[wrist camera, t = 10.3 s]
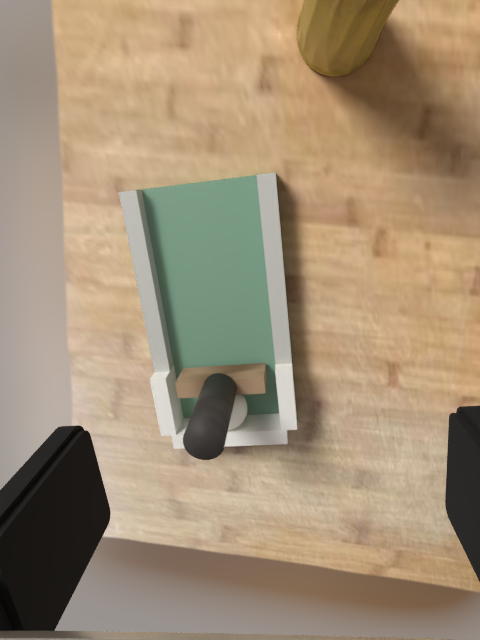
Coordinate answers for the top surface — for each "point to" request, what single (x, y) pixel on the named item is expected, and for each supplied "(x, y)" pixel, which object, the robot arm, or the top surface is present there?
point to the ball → (238, 412)
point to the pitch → (214, 296)
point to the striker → (215, 402)
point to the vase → (340, 33)
